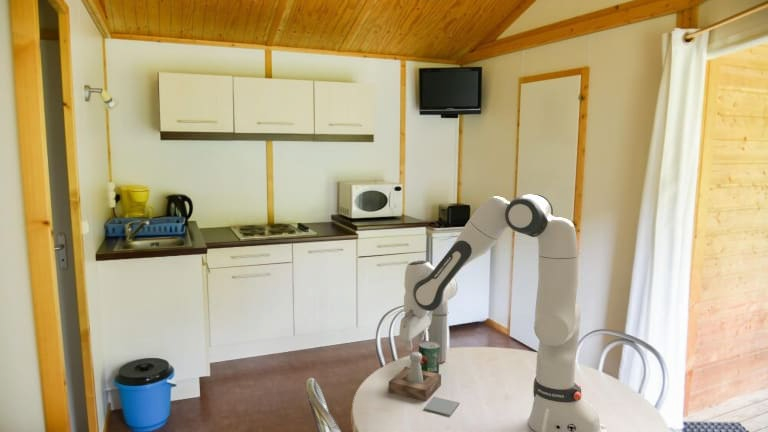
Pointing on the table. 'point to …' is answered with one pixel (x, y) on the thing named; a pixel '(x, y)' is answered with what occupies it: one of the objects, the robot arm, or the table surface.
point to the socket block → (415, 385)
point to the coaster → (441, 406)
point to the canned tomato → (429, 356)
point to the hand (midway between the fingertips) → (415, 345)
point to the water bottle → (439, 329)
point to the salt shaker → (415, 368)
